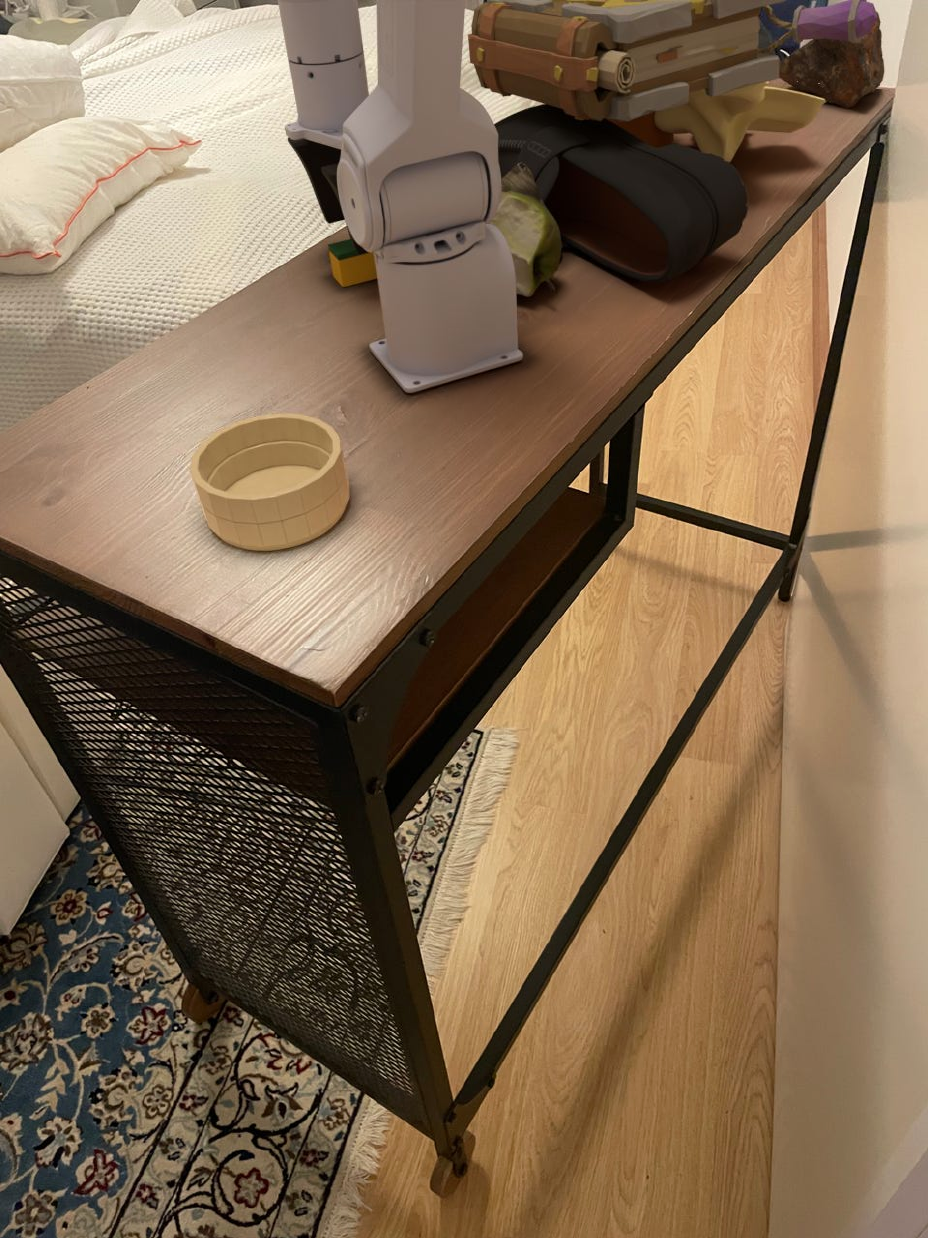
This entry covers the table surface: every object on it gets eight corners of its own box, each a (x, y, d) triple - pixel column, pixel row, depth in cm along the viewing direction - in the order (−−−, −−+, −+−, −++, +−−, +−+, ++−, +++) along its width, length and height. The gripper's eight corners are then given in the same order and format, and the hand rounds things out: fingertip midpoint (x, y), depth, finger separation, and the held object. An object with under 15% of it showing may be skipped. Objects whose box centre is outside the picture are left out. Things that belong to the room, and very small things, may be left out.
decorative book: (632, 155, 71) (633, -11, 64) (458, 95, 89) (443, -39, 82) (876, 75, 79) (901, -82, 71) (670, 34, 97) (674, -94, 89)
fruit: (599, 215, 76) (570, 286, 73) (532, 272, 84) (504, 338, 81) (511, 138, 73) (477, 208, 69) (450, 205, 80) (417, 271, 77)
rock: (774, 109, 115) (842, 52, 114) (842, 163, 110) (915, 103, 108) (762, 17, 103) (839, -49, 102) (839, 72, 98) (921, 3, 96)
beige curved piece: (724, 61, 80) (711, 141, 82) (867, 103, 90) (852, 174, 92) (571, 95, 99) (563, 160, 100) (703, 127, 108) (694, 186, 110)
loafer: (496, 81, 87) (402, 126, 82) (762, 151, 73) (670, 212, 68) (501, 186, 95) (415, 235, 89) (744, 269, 81) (659, 332, 75)
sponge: (375, 265, 84) (370, 233, 82) (385, 276, 83) (381, 243, 81) (333, 276, 83) (327, 244, 81) (342, 287, 82) (337, 254, 80)
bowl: (324, 451, 64) (313, 398, 61) (371, 523, 57) (361, 469, 55) (193, 491, 61) (175, 438, 58) (227, 571, 55) (210, 517, 52)
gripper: (249, 44, 75) (283, 217, 84) (304, 87, 65) (336, 277, 75) (332, 28, 77) (357, 199, 86) (399, 68, 67) (418, 256, 76)
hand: (352, 234), depth 81 cm, fingers open, 7 cm apart
